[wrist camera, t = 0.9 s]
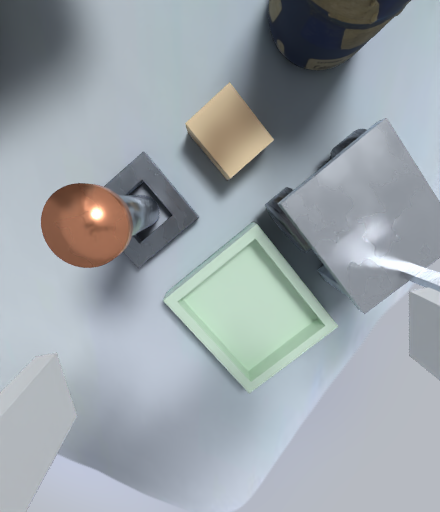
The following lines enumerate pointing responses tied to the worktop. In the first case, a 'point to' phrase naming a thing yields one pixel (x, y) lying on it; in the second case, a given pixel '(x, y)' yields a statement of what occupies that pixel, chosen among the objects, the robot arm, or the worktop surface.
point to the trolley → (366, 218)
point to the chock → (228, 132)
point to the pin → (94, 223)
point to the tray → (250, 308)
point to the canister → (327, 28)
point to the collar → (167, 194)
